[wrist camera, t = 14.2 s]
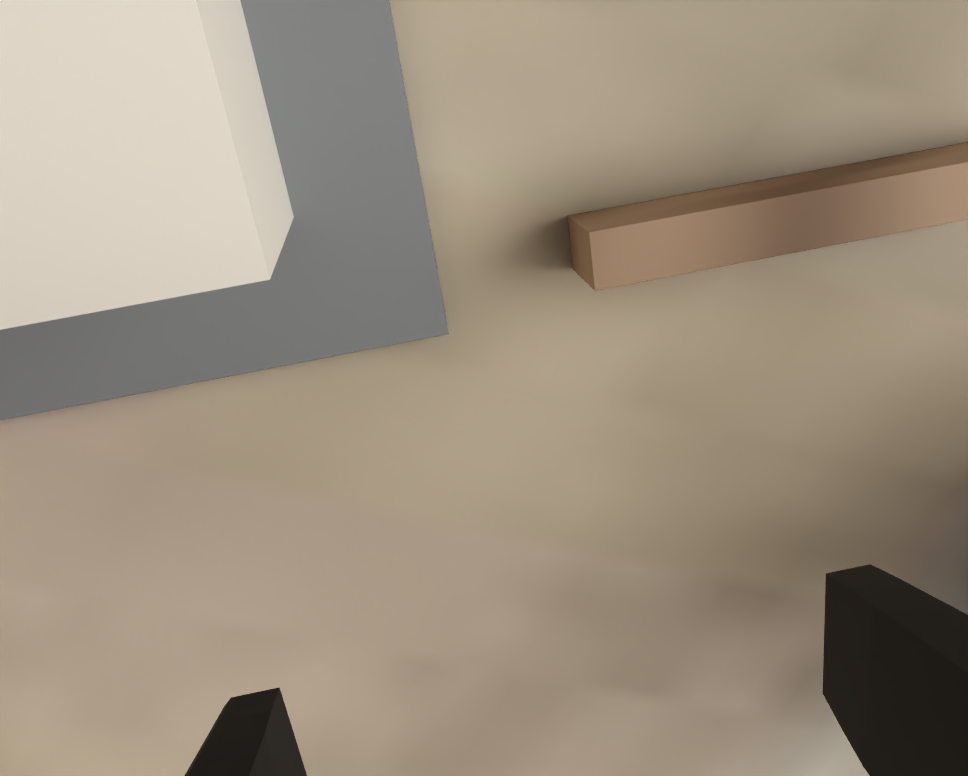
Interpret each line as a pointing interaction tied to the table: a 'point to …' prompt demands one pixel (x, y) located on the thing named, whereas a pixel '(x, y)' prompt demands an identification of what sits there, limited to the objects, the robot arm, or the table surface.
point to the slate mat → (308, 245)
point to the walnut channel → (770, 217)
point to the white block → (131, 156)
